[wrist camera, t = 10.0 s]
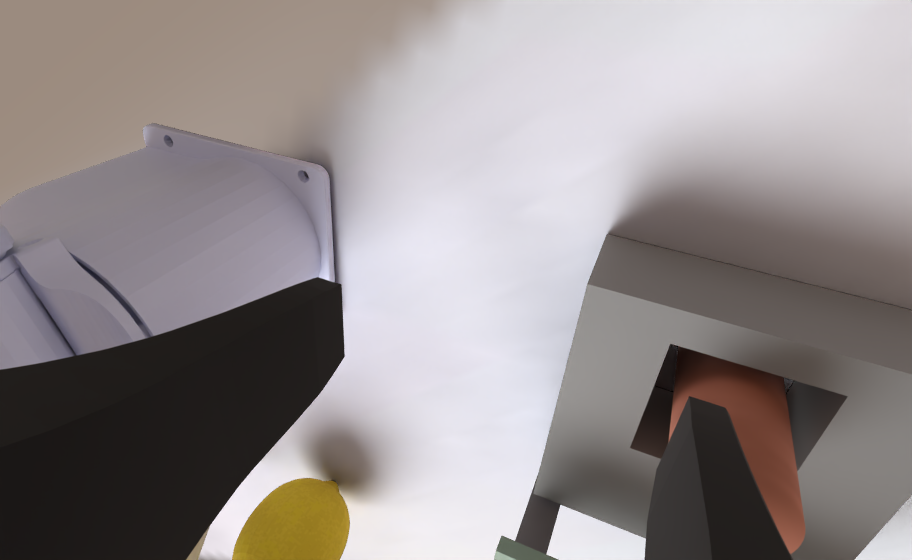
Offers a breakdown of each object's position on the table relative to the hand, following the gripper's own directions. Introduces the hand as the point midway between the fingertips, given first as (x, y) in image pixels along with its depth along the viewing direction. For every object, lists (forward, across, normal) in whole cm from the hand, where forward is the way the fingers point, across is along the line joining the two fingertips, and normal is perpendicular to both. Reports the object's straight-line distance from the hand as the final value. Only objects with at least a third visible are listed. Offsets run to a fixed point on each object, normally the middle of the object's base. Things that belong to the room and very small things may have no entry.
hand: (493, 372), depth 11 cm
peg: (+9, -6, +4) cm, 12 cm away
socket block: (+9, -6, +7) cm, 13 cm away
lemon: (+10, +11, +22) cm, 26 cm away
